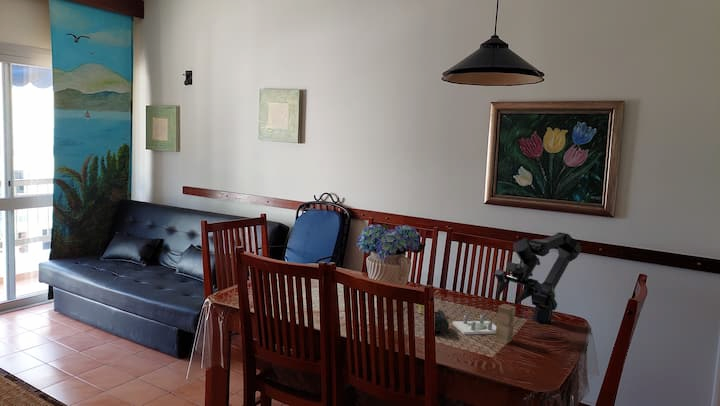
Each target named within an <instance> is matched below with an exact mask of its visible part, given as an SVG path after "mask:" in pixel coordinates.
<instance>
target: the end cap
mask: <svg viewBox="0 0 720 406" xmlns="http://www.w3.org/2000/svg"><path fill="white" fill-rule="evenodd" d="M433 312H434V313H435V334H436V335H435V336H442V335H443V334H446V333H447V332H448V330H449V327H450V324H449V321H448V319H447V316H446V313H445V312H444V311H442V310H440V309H438V310H437V311H433Z"/></svg>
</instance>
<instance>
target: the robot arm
mask: <svg viewBox="0 0 720 406" xmlns="http://www.w3.org/2000/svg"><path fill="white" fill-rule="evenodd" d="M557 247H558V248H557ZM554 248H557V252H558V255H557V258H556V260H555V261H554V263H553V265H552V267H551V269H550V270H549V272H548V274H547V276H546V278H545V280H544V281H543V282H542V283H541V282H539V281H538V280H539V279H538V280H537V279H534V278H530V277H533V275H534V274H533V271H534V270H535V268H536V266H540V265H541V261H540V258H539V257H538V256H540V257H545V256H547V255H548V254H550V250H551V249H554ZM512 249H513V251H514V252H515V253H516V255H517V257H518V259H519V260H520V262H519V263H514V262H511V261H507V265H506V269H505V270H506V271H505V270H502V269H495V271H494V274H493V275H494V276H495V278H496V279H497V282H498V283H497V288H496V294H495V295H496V296H497V297H498V296H500V295H501V294H502V293H503V292H504V290H505V289H506V288H507V287H508V283H510V282H512V283H515V284H517V285H522V286H523V289H522V290H521V292H520V294H519V295H518V297H517V299H516V303H519V304H520V303H521V302H522V301H524V300H525V299H528V298H529V297H531V304H532V305H533V306H535V307H534V310H533V316H531V319H532V320H534V321H535V322H537V323H539V324H554V321H553V320H552V318H553V311H556V310H557V306H558V303H557V301H556V292H555V290H556V287H557V285H558V284H559V282H560V280H561V278H562V276H563V274H564V273H565V271H566V269H567V267H568V265H569V264H570V263H571V262H573V261H574V260H575V259H577V258H578V257H579V255H580V254H581V251H582V246H581V244H580V243H579V241H577V240H576V239H574V238H573V237H572V236H571V234H569V233H566V232H557V233H555V234H553V235H551V236H547V237H546V238H543V239H536V238H535V239H531V240H529V239H528V238H525V237H523V238H522V239H520V240H517V241H516V242H514V243H513V246H512ZM507 271H509V274H510V275H509V274H508V273H507Z"/></svg>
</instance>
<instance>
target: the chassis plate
mask: <svg viewBox="0 0 720 406" xmlns="http://www.w3.org/2000/svg"><path fill="white" fill-rule="evenodd" d="M468 318H469V317H468V315H467V314H464V315H463V320H462V321H460V320H459V321H452V325H453V326H454V327H455V328H456V329H457V330H458V331H460V333H462V335H496V324H495V323H493V321H491V320H485V315H483V314H480V316H479V320H470V321H469V320H468Z"/></svg>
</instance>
